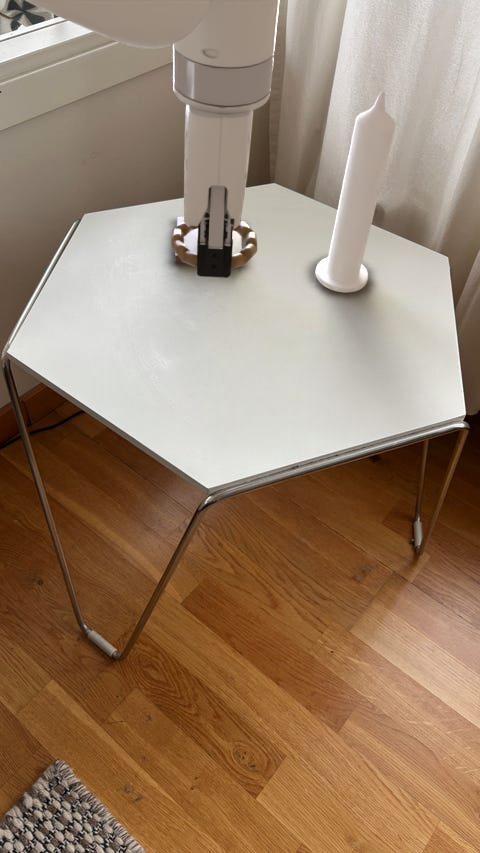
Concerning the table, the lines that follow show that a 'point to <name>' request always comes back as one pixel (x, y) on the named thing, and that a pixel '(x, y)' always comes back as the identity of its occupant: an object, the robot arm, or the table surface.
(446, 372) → the table surface
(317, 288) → the table surface
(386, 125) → the candle
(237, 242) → the post
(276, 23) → the robot arm
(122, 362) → the table surface
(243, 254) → the ring
